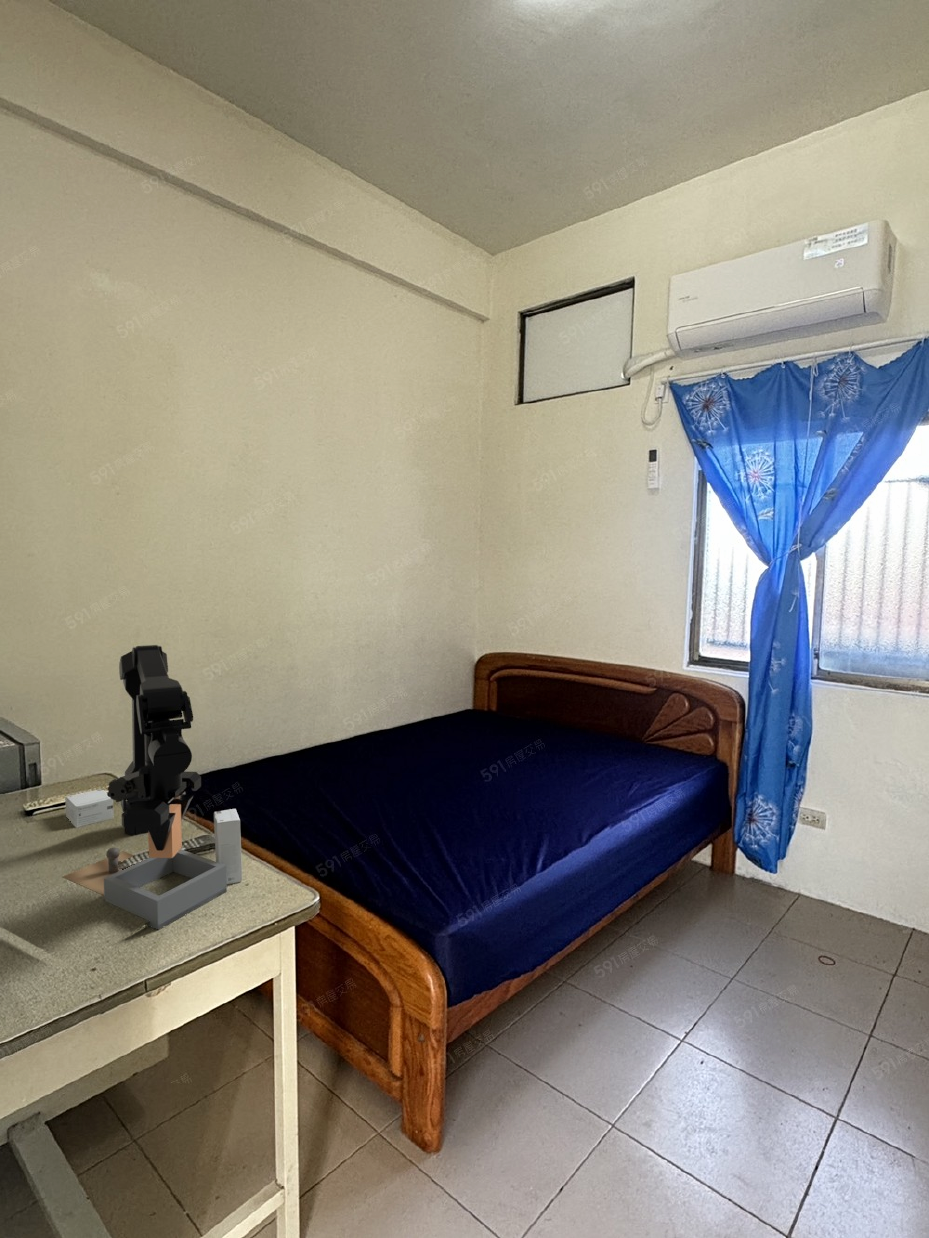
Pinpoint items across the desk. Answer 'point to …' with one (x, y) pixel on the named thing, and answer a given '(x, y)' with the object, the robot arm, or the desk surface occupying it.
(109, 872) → the stud base
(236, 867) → the skincare box
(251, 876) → the desk surface
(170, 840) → the tan wooden brick
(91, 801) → the small box
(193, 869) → the bin
